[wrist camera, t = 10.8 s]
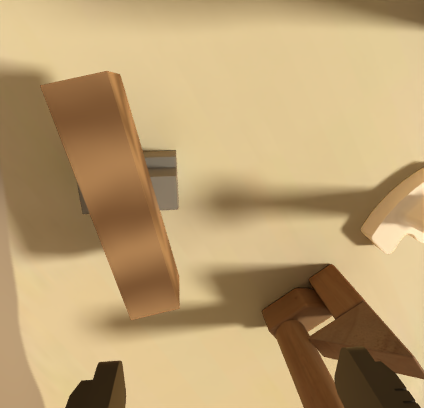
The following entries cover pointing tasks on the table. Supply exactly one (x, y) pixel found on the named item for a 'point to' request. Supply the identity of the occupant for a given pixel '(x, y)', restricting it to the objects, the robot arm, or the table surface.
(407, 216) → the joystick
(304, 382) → the brown rod with wedge
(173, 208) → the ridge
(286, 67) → the table surface
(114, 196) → the walnut bar
